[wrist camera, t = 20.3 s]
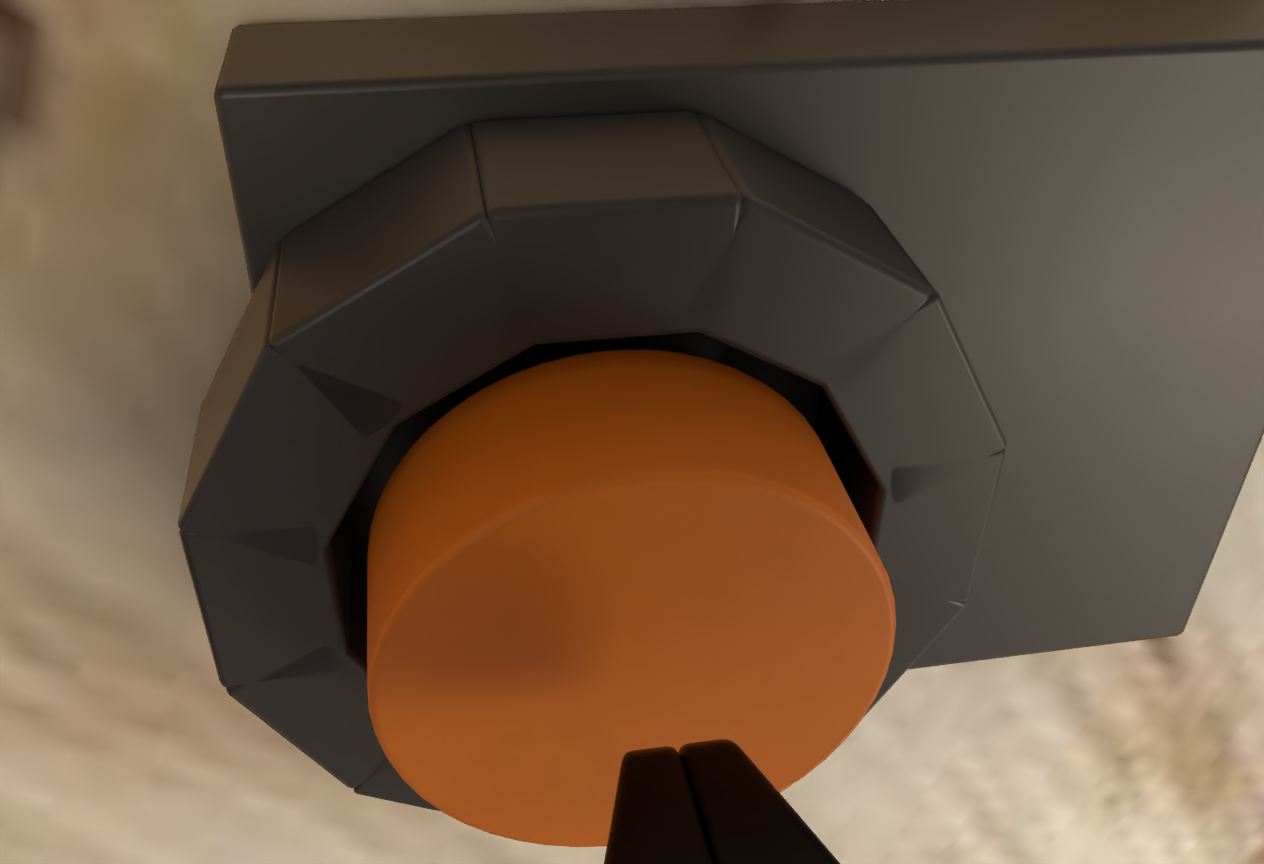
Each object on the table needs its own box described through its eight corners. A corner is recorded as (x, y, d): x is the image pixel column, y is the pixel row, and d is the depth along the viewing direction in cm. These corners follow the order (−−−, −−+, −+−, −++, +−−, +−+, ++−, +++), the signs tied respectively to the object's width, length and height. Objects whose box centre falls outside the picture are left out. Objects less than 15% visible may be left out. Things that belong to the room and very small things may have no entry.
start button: (393, 730, 12) (395, 882, 11) (338, 367, 10) (332, 505, 8) (810, 677, 13) (862, 814, 11) (863, 325, 10) (940, 446, 9)
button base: (290, 647, 16) (273, 885, 13) (155, 25, 11) (81, 188, 8) (1121, 552, 17) (1264, 744, 14) (1316, -18, 13) (1586, 103, 10)
